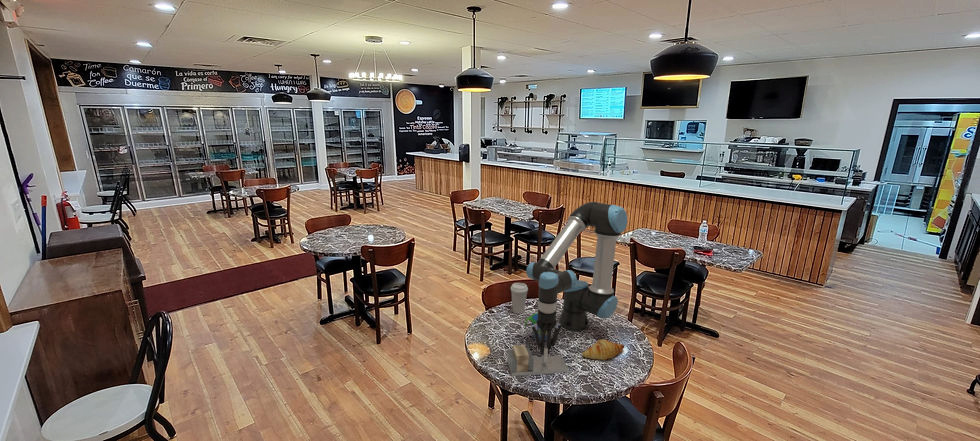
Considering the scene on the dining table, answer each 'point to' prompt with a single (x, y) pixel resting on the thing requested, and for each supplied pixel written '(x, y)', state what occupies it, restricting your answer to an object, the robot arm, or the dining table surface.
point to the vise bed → (544, 366)
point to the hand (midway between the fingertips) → (544, 360)
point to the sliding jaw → (530, 359)
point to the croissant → (603, 350)
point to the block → (521, 357)
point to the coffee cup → (518, 297)
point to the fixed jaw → (512, 360)
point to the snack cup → (533, 320)
